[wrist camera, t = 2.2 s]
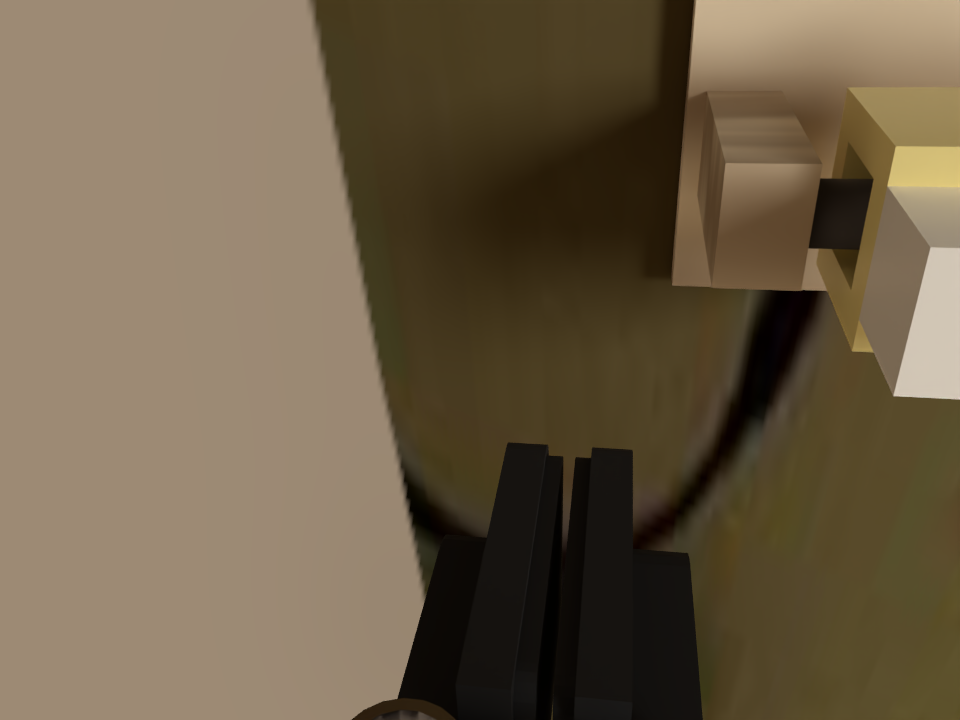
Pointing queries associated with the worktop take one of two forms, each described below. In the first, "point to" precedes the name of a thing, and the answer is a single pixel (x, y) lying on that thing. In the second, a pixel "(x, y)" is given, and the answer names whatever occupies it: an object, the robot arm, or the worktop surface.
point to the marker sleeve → (902, 236)
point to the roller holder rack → (788, 129)
